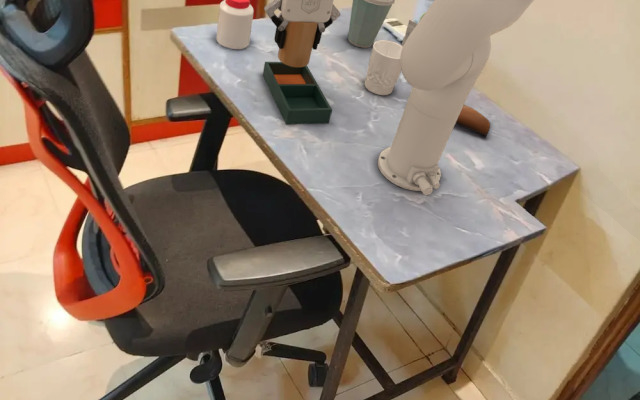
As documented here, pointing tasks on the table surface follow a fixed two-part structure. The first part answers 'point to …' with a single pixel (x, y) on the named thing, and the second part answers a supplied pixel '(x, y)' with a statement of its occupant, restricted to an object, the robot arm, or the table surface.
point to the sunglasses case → (473, 120)
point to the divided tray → (296, 94)
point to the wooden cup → (298, 43)
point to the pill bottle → (234, 23)
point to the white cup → (383, 67)
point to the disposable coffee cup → (367, 20)
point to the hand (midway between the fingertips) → (296, 45)
